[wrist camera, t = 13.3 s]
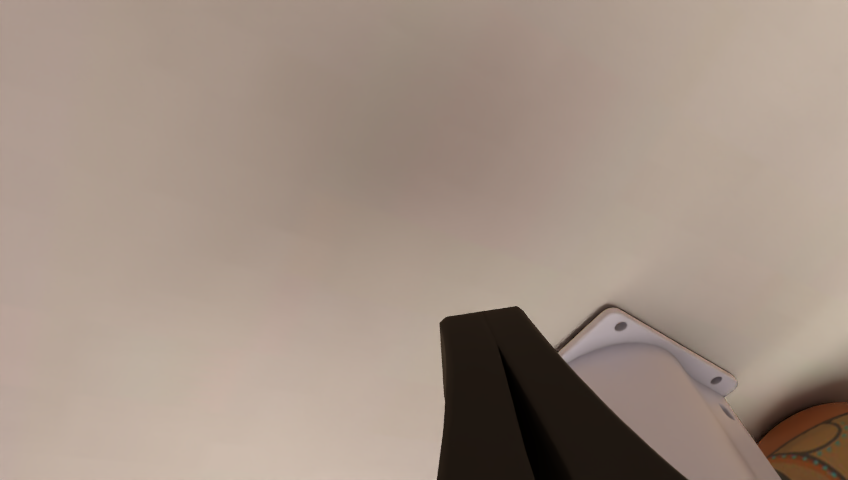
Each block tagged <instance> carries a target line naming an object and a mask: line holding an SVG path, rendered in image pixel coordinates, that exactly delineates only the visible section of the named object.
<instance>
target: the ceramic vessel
mask: <svg viewBox="0 0 848 480" xmlns="http://www.w3.org/2000/svg"><path fill="white" fill-rule="evenodd" d="M757 445H758V447H759V448H760V450H761V451H762V452H763V454H764V455H765V457H766V458H767V460H768V461H769V462H770V464H771V465H772V467H773V468H774V470H775V471H776V472H777V474H778V475H779V477H780V478H781V480H848V402H833V403H825V404H820V405H816V406H813V407H810V408H807V409H805V410H802V411H800V412H798V413H796V414H794V415H792V416H790V417H788V418H786V419H785V420H783V421H782V422H780V423H779V424H777V425H776V426H775V427H773V428H772V429H771V430H770V431H769V432H768V433H767V434H765V435H764V437H763V438H762V439H761V440H760V441H759V443H758V444H757Z"/></svg>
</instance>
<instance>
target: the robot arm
mask: <svg viewBox="0 0 848 480" xmlns="http://www.w3.org/2000/svg"><path fill="white" fill-rule="evenodd" d="M620 322H621V323H620ZM618 323H619V324H618ZM440 337H441V353H442V369H443V385H444V397H445V415H444V428H443V437H442V445H441V453H440V460H439V468H438V476H437V480H781V478H780V477H779V475H778V474H777V472H776V471H775V470H774V468H773V467H772V465H771V464H770V462H769V461H768V460H767V458H766V457H765V455H764V454H763V452H762V451H761V450H760V448H759V447H758V445H757V444H756V443H755V441H754V440H753V438H752V437H751V435H750V434H749V433H748V431H747V430H746V428H745V427H744V425H743V424H742V423H741V421H740V420H739V418H738V417H737V415H736V414H735V413H734V411H733V410H732V408H731V407H730V405H729V404H728V403H727V401H726V400H725V398H724V397H725V396H727V395H728V394H729V393H731V392H732V391H733V390H734V389H735V388H736V387H737V385H738V382H737V380H736V379H735V378H734V376H733V375H731V374H730V373H728V372H726V371H724V370H723V369H721V368H719V367H718V366H716V365H714V364H712V363H711V362H709V361H707V360H706V359H704V358H702V357H700V356H699V355H697V354H695V353H694V352H692V351H690V350H688V349H687V348H685V347H683V346H682V345H680V344H678V343H676V342H675V341H673V340H671V339H670V338H668V337H666V336H664V335H663V334H661V333H659V332H658V331H656V330H654V329H652V328H651V327H649V326H647V325H646V324H644V323H642V322H640V321H639V320H637V319H635V318H634V317H632V316H630V315H628V314H627V313H625V312H623V311H622V310H620V309H618V308H608V309H605V310H604V311H603V312H601V313H600V314H599V315H598V316H597V317H596V318H595V319H594V320H593V321H592V322H591V323H589V324H588V325H587V326H586V327H585V328H584V329H583V330H582V331H581V332H580V333H578V334H577V335H576V336H575V337H574V338H573V339H572V340H571V341H570V342H569V343H568V344H566V345H565V346H564V347H563V348H562V349H561V350H560V351H559V352H558V353H557V351H556V350H555V349H554V348H553V347H552V346H551V344H550V343H549V342H548V341H547V340H546V339H545V337H544V336H543V335H542V334H541V333H540V331H539V330H538V329H537V328H536V327H535V325H534V324H533V323H532V322H531V320H530V319H529V318H528V317H527V315H526V314H525V313H524V311H523V310H521V309H520V308H519V307H517V306H515V307H508V308H502V309H495V310H488V311H482V312H475V313H469V314H462V315H456V316H449V317H446V318H444V319H443V320H442V321H441V322H440Z"/></svg>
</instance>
